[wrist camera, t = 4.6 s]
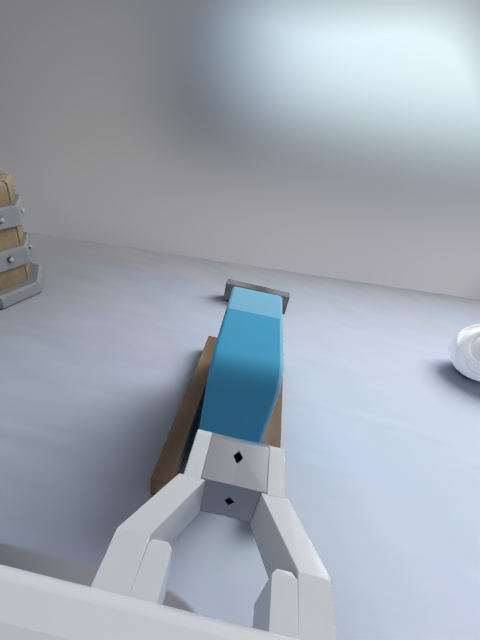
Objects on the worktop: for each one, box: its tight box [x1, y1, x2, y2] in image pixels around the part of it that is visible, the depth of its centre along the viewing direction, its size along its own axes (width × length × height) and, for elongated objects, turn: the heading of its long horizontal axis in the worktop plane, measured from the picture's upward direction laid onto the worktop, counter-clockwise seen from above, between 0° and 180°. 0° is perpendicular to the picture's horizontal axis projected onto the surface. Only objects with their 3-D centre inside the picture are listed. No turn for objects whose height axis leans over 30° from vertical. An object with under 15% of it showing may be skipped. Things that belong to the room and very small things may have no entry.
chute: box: [150, 279, 289, 495], centre depth 35 cm, size 10×33×3 cm, turn 172°
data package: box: [199, 287, 283, 443], centre depth 26 cm, size 12×4×12 cm, turn 173°
